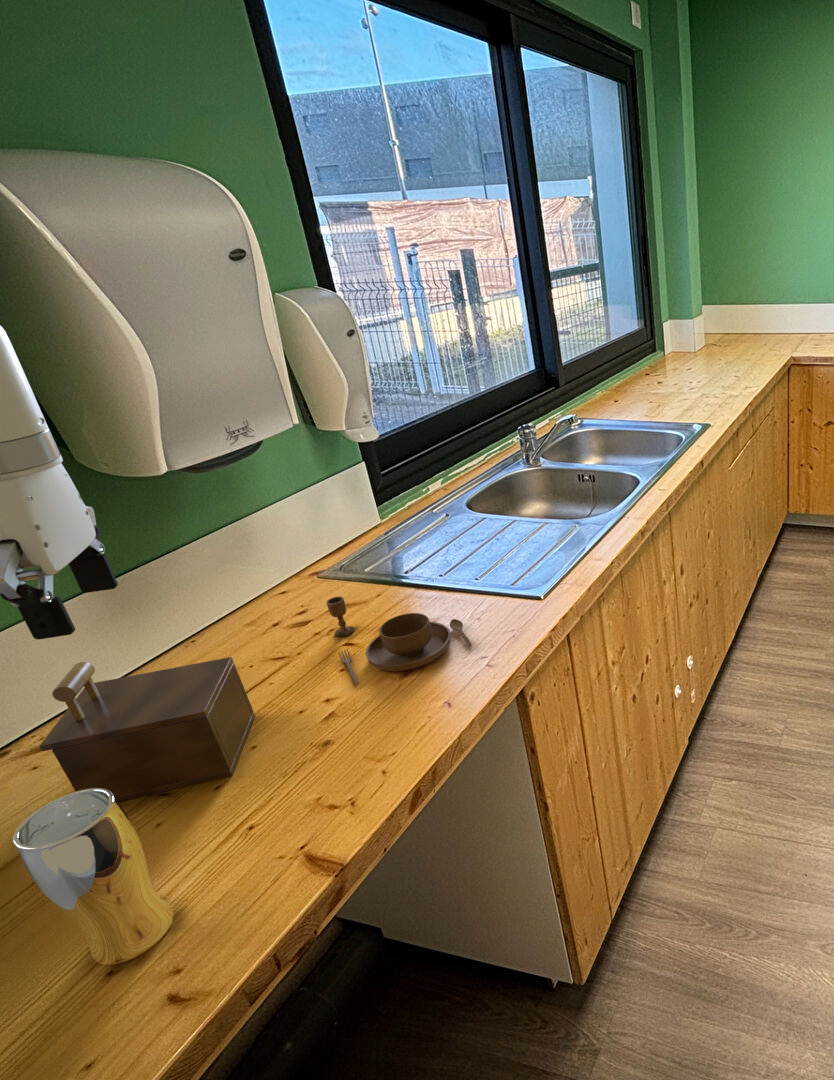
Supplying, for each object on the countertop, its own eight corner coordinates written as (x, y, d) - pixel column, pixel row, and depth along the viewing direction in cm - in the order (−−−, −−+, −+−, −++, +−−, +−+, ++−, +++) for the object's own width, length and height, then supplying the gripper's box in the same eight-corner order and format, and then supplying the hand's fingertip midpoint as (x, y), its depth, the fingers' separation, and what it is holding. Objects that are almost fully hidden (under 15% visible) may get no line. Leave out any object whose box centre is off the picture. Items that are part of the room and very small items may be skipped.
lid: (42, 751, 75) (17, 710, 73) (89, 689, 85) (69, 651, 83) (206, 717, 80) (189, 677, 77) (233, 661, 90) (219, 624, 87)
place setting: (355, 694, 97) (344, 659, 94) (329, 632, 112) (319, 600, 109) (480, 649, 106) (472, 616, 103) (440, 597, 121) (433, 567, 118)
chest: (85, 810, 79) (51, 750, 75) (126, 743, 89) (97, 688, 85) (232, 775, 83) (206, 717, 80) (255, 716, 93) (233, 661, 90)
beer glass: (86, 930, 66) (11, 814, 59) (175, 887, 70) (115, 773, 63) (86, 987, 61) (5, 866, 54) (183, 937, 65) (118, 819, 58)
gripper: (7, 434, 72) (76, 580, 79) (-113, 491, 57) (-14, 664, 64) (94, 426, 74) (153, 569, 81) (0, 479, 59) (83, 648, 66)
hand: (79, 611), depth 73 cm, fingers open, 9 cm apart
